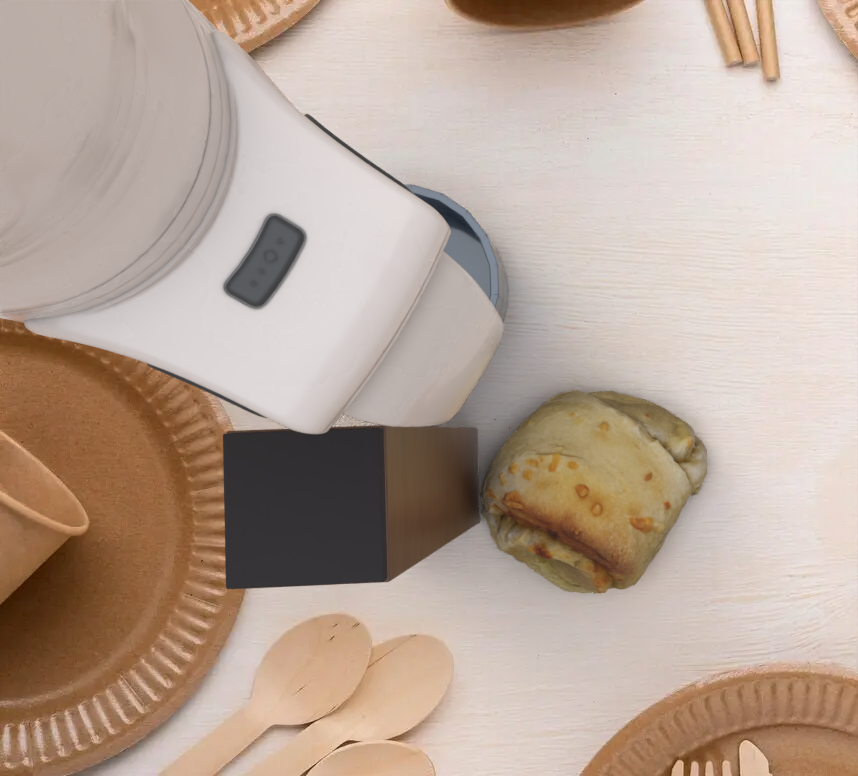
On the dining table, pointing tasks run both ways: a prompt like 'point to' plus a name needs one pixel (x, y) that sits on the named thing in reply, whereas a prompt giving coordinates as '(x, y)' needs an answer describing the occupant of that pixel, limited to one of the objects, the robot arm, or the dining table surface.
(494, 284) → the bowl
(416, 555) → the pedestal
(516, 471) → the pastry
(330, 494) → the mat
